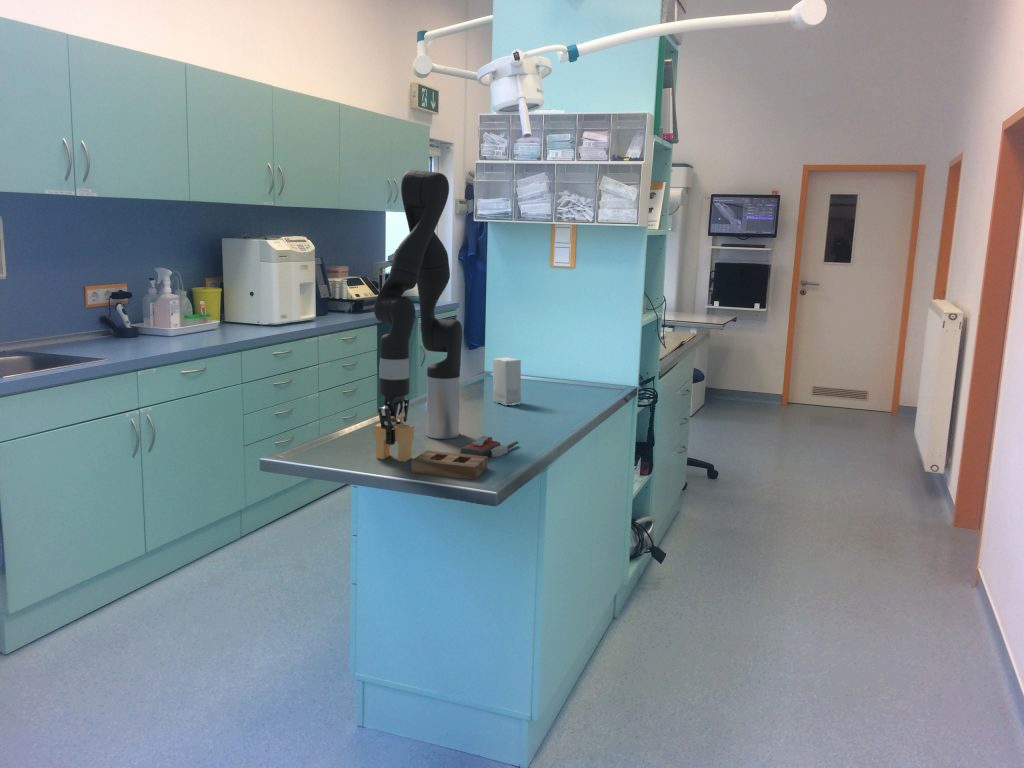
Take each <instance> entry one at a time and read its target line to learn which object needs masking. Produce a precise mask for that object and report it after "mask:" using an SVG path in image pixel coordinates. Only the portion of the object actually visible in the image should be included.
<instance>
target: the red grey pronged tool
mask: <svg viewBox="0 0 1024 768" xmlns="http://www.w3.org/2000/svg"><path fill="white" fill-rule="evenodd" d="M515 445H519V442H518V441H517V440H516V441H513V442H511V443H509V444H505V445H504V444H501V442H499V441H498V440H493V437H492V436H485V435H484V436H481V437H479V438H477V439H476V441H472V442H471V443H470V444H467V445H466V446H465V445H464V446H462V447H460V449H459V452H460V453H459V454H468V455H477V456H487V457H488V458H490V457H491V458H493V457H501V456H503V455H505V454H508V452H509V451H508V450H509V449H512V448H513V447H515Z"/></svg>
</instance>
